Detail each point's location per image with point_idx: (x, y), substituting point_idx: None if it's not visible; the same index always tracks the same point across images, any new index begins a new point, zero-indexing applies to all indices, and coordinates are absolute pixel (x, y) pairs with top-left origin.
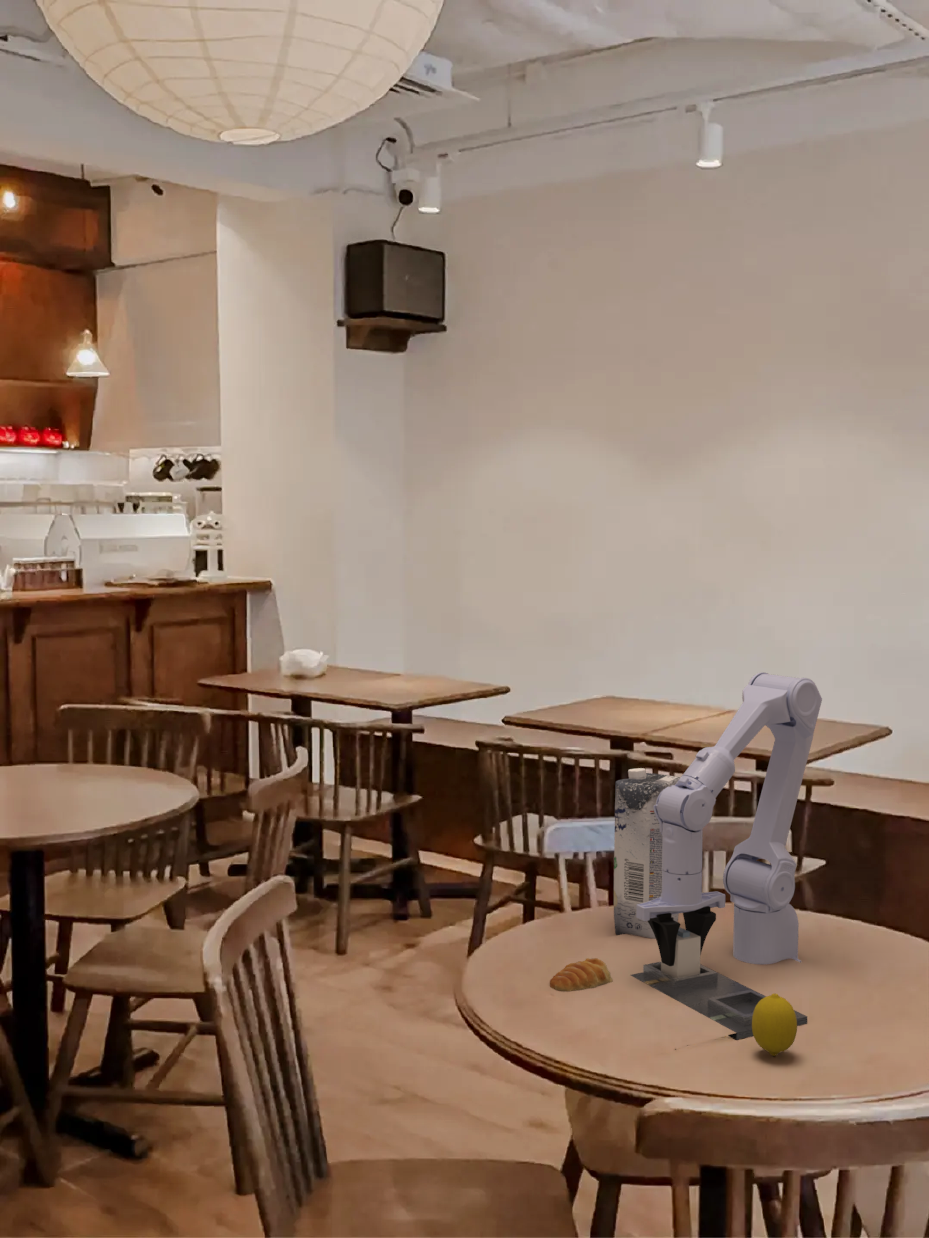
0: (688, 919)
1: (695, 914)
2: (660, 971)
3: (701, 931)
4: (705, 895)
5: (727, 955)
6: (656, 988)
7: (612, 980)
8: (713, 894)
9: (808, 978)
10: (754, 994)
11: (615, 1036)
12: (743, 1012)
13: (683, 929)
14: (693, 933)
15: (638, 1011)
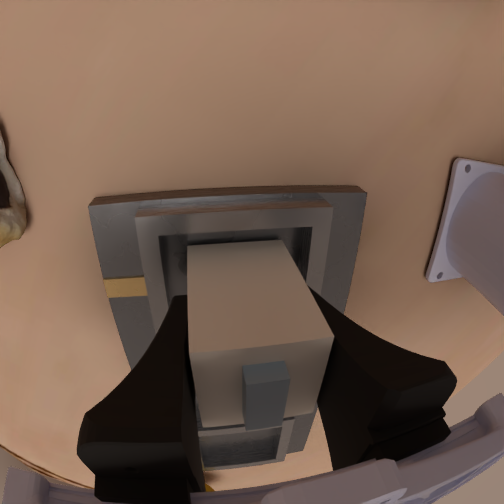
0: (353, 397)
1: (353, 456)
2: (160, 291)
3: (323, 424)
4: (450, 489)
5: (474, 149)
6: (119, 324)
7: (20, 237)
8: (482, 469)
9: (458, 319)
10: (281, 430)
11: (6, 402)
12: (228, 438)
13: (280, 404)
14: (319, 386)
15: (53, 359)
